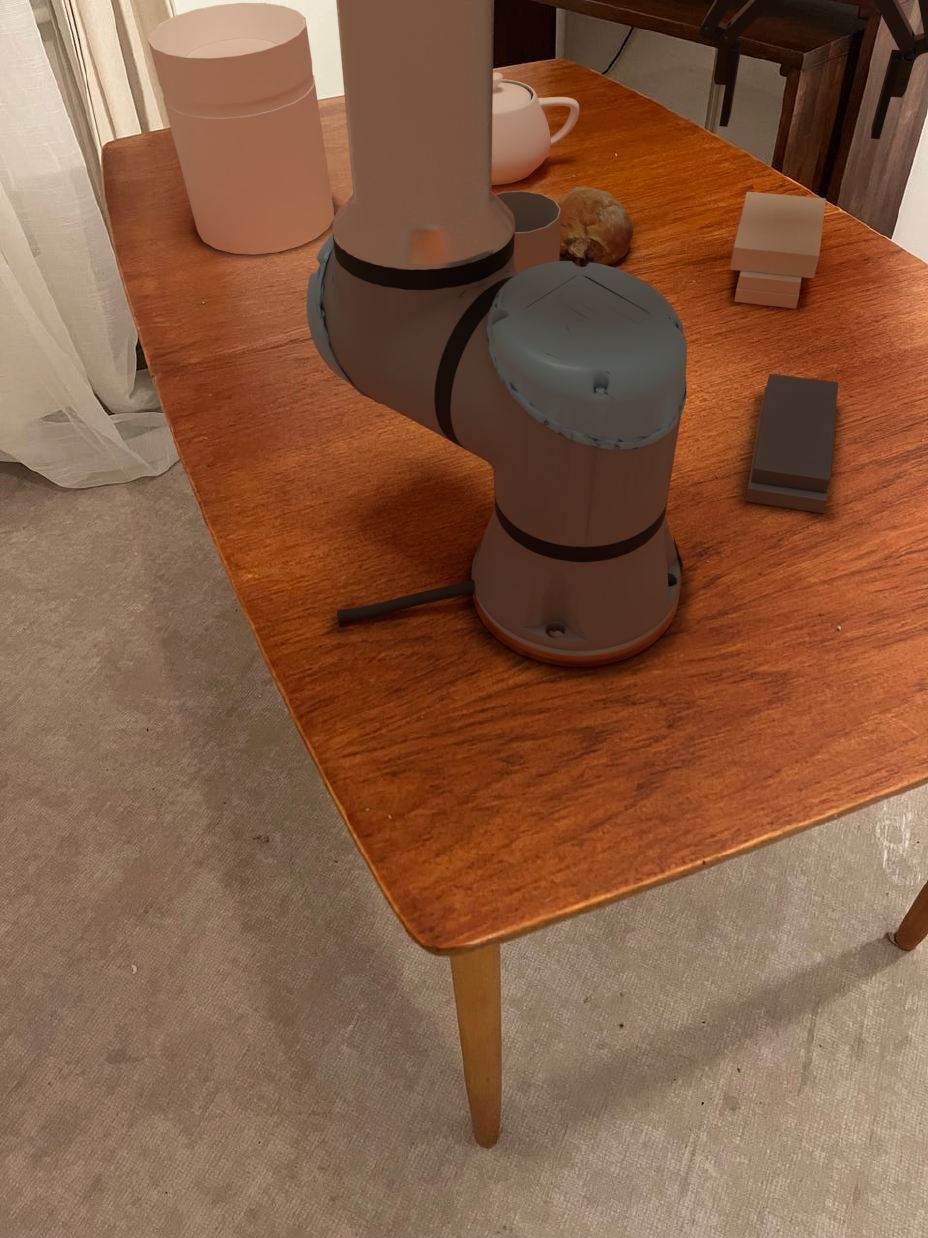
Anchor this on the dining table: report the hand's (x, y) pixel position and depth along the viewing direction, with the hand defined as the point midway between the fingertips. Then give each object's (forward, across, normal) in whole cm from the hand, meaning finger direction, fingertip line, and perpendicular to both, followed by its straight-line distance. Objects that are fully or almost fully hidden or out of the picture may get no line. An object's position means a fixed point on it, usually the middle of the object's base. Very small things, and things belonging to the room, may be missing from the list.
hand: (798, 127), depth 91 cm
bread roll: (+15, +20, 0) cm, 24 cm away
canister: (+15, +57, +1) cm, 59 cm away
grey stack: (+15, -4, +30) cm, 33 cm away
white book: (+12, 0, 0) cm, 12 cm away
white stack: (+14, 0, 0) cm, 14 cm away
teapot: (+14, +35, -17) cm, 42 cm away
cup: (+15, +24, +13) cm, 31 cm away
